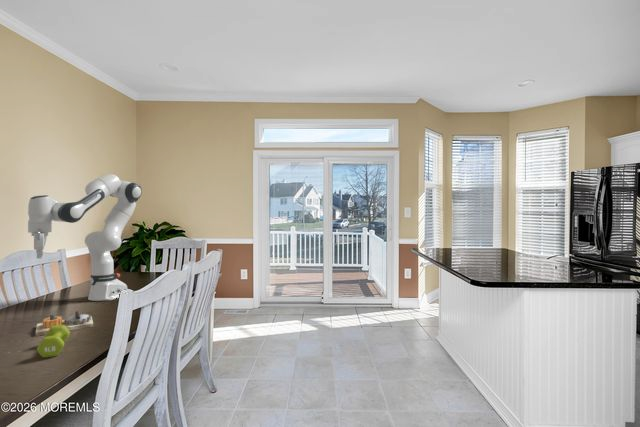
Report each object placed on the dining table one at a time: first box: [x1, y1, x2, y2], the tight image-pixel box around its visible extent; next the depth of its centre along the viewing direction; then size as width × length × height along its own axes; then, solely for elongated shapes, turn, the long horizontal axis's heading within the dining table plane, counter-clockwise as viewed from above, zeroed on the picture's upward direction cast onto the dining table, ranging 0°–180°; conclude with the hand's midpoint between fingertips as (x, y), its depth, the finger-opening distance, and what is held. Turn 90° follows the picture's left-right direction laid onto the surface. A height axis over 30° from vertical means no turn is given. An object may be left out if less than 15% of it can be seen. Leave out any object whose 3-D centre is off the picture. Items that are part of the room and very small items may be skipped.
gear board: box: [35, 310, 94, 337], centre depth 152 cm, size 20×13×6 cm, turn 128°
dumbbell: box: [36, 325, 71, 359], centre depth 128 cm, size 16×8×7 cm, turn 28°
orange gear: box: [42, 315, 63, 328], centre depth 149 cm, size 7×7×3 cm
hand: (39, 257), depth 165 cm, fingers open, 8 cm apart
